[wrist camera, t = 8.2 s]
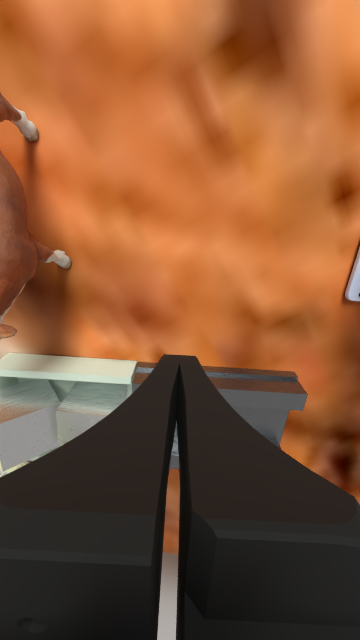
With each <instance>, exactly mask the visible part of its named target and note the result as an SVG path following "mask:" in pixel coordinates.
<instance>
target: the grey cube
mask: <svg viewBox="0 0 360 640" xmlns="http://www.w3.org/2000/svg"><path fill="white" fill-rule="evenodd" d="M126 386H127V384H116V383H101V382H85V381H76V382H75V384H74V385H73V387H72V388H71V390H70V391H69V393H68V394H67V395H66V397H65V398H64V400H63V401H62V403H61V404H60V406H59V407H58V408H57V410H56V420H57V430H58V441H59V447H60V446H62V445H64V444H65V443H67V442H69V441H70V440H72V439H74V438H75V437H77V436H78V435H80V434H82V433H83V432H85V431H86V430H88V429H89V428H91V427H92V426H93V425H95V424H96V423H98V422H99V421H100V420H102V419H103V418H104V417H106V416H107V415H108V414H110V413H111V412H112V411H113V410H115V409H116V408H117V407H118V406H119V405H120V404H122V403H123V402H124V401H125V400H126Z"/></svg>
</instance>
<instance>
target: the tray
mask: <svg viewBox="0 0 360 640" xmlns="http://www.w3.org/2000/svg"><path fill="white" fill-rule="evenodd" d="M136 367H137V361H131V360H115V359H100V358H84V357H68V356H53V355H37V354H21V353H8V354H6V355H5V356H4V357H2V358H1V359H0V388H3V387H6V386H10V385H14V384H17V383H21V382H24V381H28V380H31V379H35V378H37V379H48V381H49V383H50V385H51V387H52V388H53V390H54V392H55V394H56V396H57V397H58V399H59V401H60V404H61V403H62V401H63V400H64V398H65V397H66V395H67V394H68V393H69V391H70V390H71V388H72V387H73V385H74V384H75V382H76V381H85V382H101V383H116V384H127V386H126V399H127V398H128V397H129V396H130V395H131V394H132V382H133V379H134V376H135V373H136ZM58 447H59V446H58ZM58 447H56V448H54V449H51V450H49V451H47V452H45V453H43V454H41V455H38V456H36V457H34V458H32V459H30V461H34V460H36V459H38V458H40V457H42V456H44V455H46V454H48V453H49V452H51V451H53V450H55V449H57V448H58Z"/></svg>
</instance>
